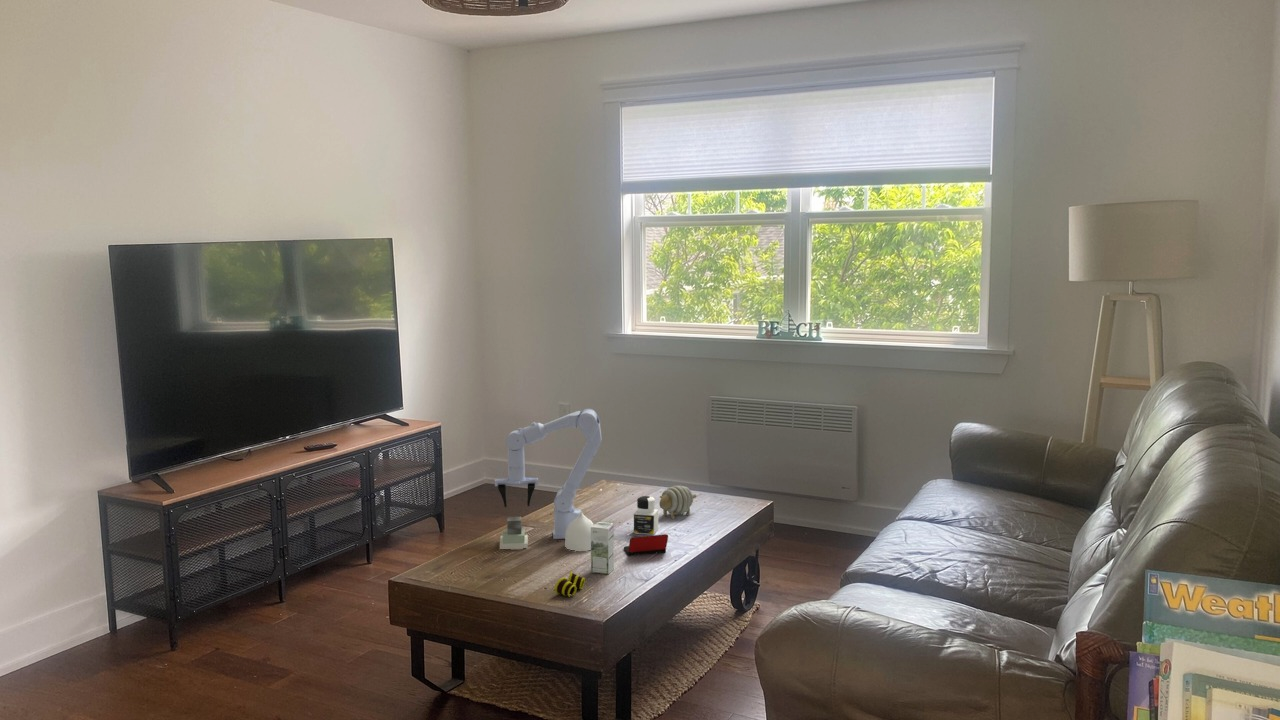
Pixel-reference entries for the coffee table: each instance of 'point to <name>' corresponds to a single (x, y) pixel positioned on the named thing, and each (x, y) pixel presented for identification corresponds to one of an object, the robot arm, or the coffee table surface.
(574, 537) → the teardrop
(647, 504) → the medicine bottle
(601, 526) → the syrup box
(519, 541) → the tower top slab
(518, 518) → the slate cube
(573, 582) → the opera glasses
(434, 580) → the coffee table surface
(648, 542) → the handheld game console
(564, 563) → the coffee table surface
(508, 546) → the tower base slab
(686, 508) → the toy sheep
